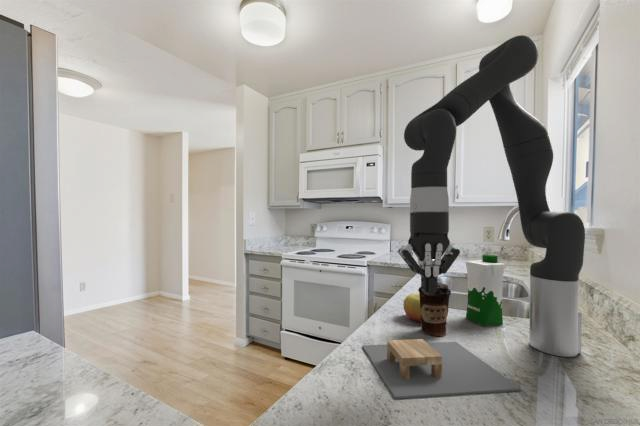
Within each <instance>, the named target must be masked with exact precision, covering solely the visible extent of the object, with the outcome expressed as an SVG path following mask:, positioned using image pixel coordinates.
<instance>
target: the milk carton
mask: <svg viewBox="0 0 640 426" xmlns="http://www.w3.org/2000/svg"><path fill="white" fill-rule="evenodd" d="M498 257H499V256H498V255H496V254H482V260H481V259H479V260H474V259H473V260H465V262H464V263H465V267H466V271H467V303H466V304H467V305H466V315H465V319H467V320H469V321H471V322H474V323H476V324H479V325H481V326H483V327H489V326H497V325H498V326H500V325H503V324H504V323H503V322H504V320H503V318H504V317H503V277H504V273H505V268H506V263H501V262H498V259H499V258H498Z"/></svg>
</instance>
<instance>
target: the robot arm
mask: <svg viewBox="0 0 640 426" xmlns="http://www.w3.org/2000/svg"><path fill="white" fill-rule="evenodd" d="M539 55H540V54H539V49H538V46H537V44H536V42H535V41H534V40H533V39H532V38H531V37H530V36H527V35H523V34H520V35H515V36H513V37H511V38H509V39H507V40H505V41H504V42H502V43H501V44H500V45H498V46H497V47H495V48H494V49H492V50H491V51H490V52H488V53H486V54H485V55H484V56H483V57H482V58H481V59H480V61H479V65H478V71H477V72H476V73H474V74H473V75H471V76H469V77H468V78H467V79H465V80H464V81H463V82H461V83H459V84H458V85H457V86H456V87H454V88H453V89H452V90H450V91H449V92H448V93H447V94H446V95H445V96H443V97H442V98H441V99H440V100H439V101H438V102H436V103H434V104H433V105H432V106H430V107H429V108H427V109H425V110H424V111H422V112H421V113H419V114H417V115H416V116H415V117H413V118H412V119H411V120H410V121H409V122H408V123H407V125H406V126H405V128H404V132H403V140H404V142H405V144H406V146H407V147H408V148H410V149H411V150H413V151H418V152H419V151H420V152H421V151H423V154H422V155H421V157H419V159H417V160H416V161H414V162H413V163H412V164H411V171H410V172H411V173H410V175H411V176H410V184H411V185H410V197H409V232H410V233H409V234H410V237H409V239H408V240H407V243H408V244H407V245H406V246H404V247H403V248H398V250H397V251H398V252H397V253H398V254H399V256H400V257H401V258H402V259H403V262H405V264H406V265H407V266H408V268H409V269H410V271H412V273H416V274H417V275H420V287H421V290H422V291H423V292H424V294H426V295H435V292H437V283H438V278H439V276H440V275H442V274H444V275H445V274H446V273H447V272H448V271H449V270H450V268H451V266H452V265H453V264H454V262H455V261H456V259H457V258H458V257H459V256H460V254H461V250H460V249H458V248H455V247H453V245H452V244H451V241H450V238H449V237H448V236H449V235H448V234H449V232H450V230H449V229H450V225H449V223H450V217H449V216H450V215H449V214H450V213H449V212H450V209H449V208H450V203H449V201H450V199H449V192H448V191H449V190H448V166H449V163H450V160H451V156H452V152H453V148H454V145H455V140H456V136H457V127H459V126H460V125H462V124H464V123H465V122H467V120H468V119H469V118H471V116H473V115H474V114H475V113H476V112H477V111H479V109H481V108H482V106H484V104H486V103H487V102H488V101H489V104H490V106H491V109H492V111H493V114H494V117H495V121H496V123H497V127H498V131H499V134H500V137H501V142H502V147H503V150H504V154H505V157H506V161H507V164H508V167H509V170H510V174H511V179H512V183H513V187H514V190H515V193H516V198H517V199H516V200H517V204H518V211H519V218H520V224H521V225H520V226H521V230H522V234H523V236H524V239H526V242H528V243H529V245H531V246H533V247H536V248H540V249H545V256H544V258H543V259H542V260H540V261H536V262H533V263H531V264H530V267H529V325H528V326H529V327H528V328H529V329H528V330H529V332H528V333H529V334H528V335H529V338H528V339H529V346H531V347H532V348H534V349H536V350H537V351H539V352H542V353H545V354H549V355H552V356H557V357H562V358H563V357H564V358H573V357H577V356H578V354H582V331H583V330H582V328H583V327H582V323H583V322H582V319H583V318H582V315H583V313H582V312H581V311H580V310H579V278H580V277H579V275H580V273H581V271H582V268H583V265H584V256H585V255H584V254H585V244H586V243H585V242H586V230H585V225H584V221H583V220H582V218H581V217H580V216H579V215H578V214H576V213H574V212H572V211H559V210H558V211H551V209H550V207H549V205H548V204H549V203H548V201H547V200H548V199H547V195H546V194H547V193H546V186H547V182H548V178H549V175H550V174H551V170H552V165H553V161H554V149H553V146H552V143H551V139H550V136H549V133H548V130H547V128H546V126H545V125H544V124H543V123H542V122H541V121H540V120H539V119H538V118H536V117H535V116H534V115H533V114H531V113H530V112H529V111H527V110H526V109H525V108H523V107H522V106H521V105H520V104H519V103H518V101H517V100H516V98H515V95H514V92H513V91H512V87H511V84H512V83H514V82H516V81H517V80H520V79H522V78H523V77H525V76H526V75H528V74H530V73H531V72H532V71H533V70H534V69H535V67H536V66H537V64H538V60H539ZM414 254H415V256H416V257H417V261H416V260H415V258H414V257H413V255H414Z"/></svg>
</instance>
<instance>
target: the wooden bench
mask: <svg viewBox="0 0 640 426" xmlns="http://www.w3.org/2000/svg"><path fill="white" fill-rule="evenodd" d="M427 343H428V342H427V341H425V340H424V339H423V338H417V339H415V338H414V339H392V340H391V339H388V340H387V360H388V361H389V362H396V359H397V360H398V361H399V362H400V365H399V376H400V377H401V378H402V379H409V367H410V366H415V365H431V374H432V375H433V376H434V377H435V378H436V377H442V356H441V355H440V354H439V353H438V352H437V351H435V350H434V349H433V348H432V347H431V346H430V345H429V344H427Z"/></svg>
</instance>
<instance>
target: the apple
mask: <svg viewBox="0 0 640 426" xmlns="http://www.w3.org/2000/svg"><path fill="white" fill-rule="evenodd" d="M403 310H404V312H405V315H406V316H407V317H408V318H409V319H411V320H412V321H415V322H419V323H421V311H420V295H419V293H411V294H409V295H407V296H406V297H405V299H404V300H403Z"/></svg>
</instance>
